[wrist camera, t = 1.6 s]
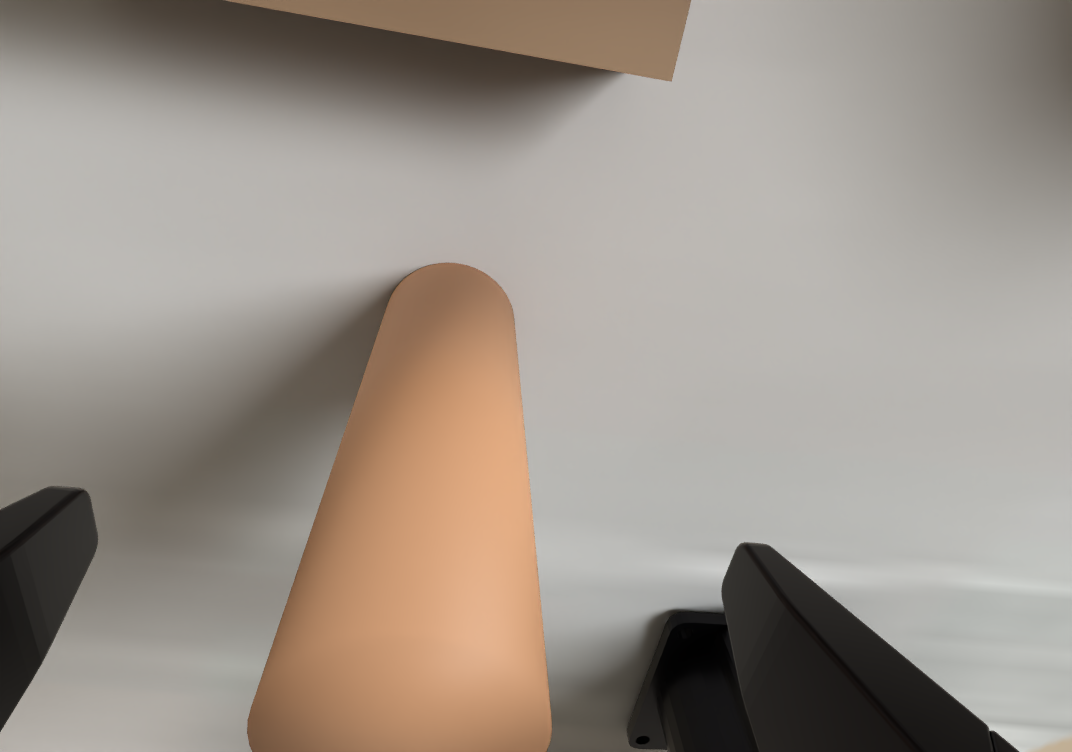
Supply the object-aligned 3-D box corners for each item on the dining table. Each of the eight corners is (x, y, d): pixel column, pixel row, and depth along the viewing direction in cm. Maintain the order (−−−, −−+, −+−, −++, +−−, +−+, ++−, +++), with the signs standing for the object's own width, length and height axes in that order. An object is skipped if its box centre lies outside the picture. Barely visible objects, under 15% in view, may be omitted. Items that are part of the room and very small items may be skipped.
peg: (504, 386, 16) (527, 821, 7) (382, 372, 16) (254, 816, 7) (523, 272, 15) (578, 645, 6) (389, 254, 14) (239, 627, 6)
